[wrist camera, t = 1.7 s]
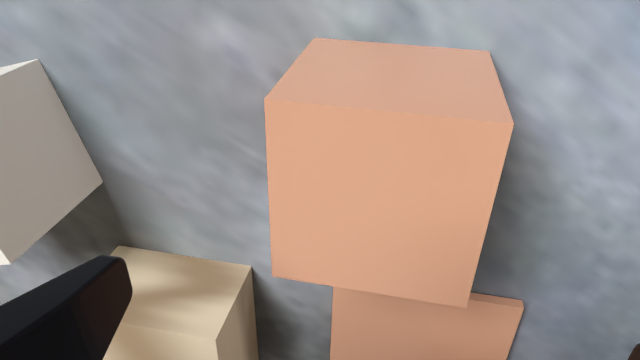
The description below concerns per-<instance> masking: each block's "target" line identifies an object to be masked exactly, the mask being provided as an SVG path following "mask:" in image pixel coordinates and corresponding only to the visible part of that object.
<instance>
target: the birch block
mask: <svg viewBox="0 0 640 360" xmlns="http://www.w3.org/2000/svg"><path fill="white" fill-rule="evenodd" d="M110 255H111V256H117V257H121V258H123V259H124V260H125V262H126V265H127V268H128V272H129V276H130V280H131V284H132V288H133V293H132V298H131V301H130V303H129V306H128V308H127V310H126V312H125V314H124V316H123V318H122V320H121V322H120V324H119V327H118V329H117V331H116V333H115V335H114V337H113V339H112V341H111V343H110V345H109V348H108V350H107V352H106V354H105V356H104V358H103V360H259V358H258V345H257V332H256V319H255V306H254V293H253V280H252V268H251V266H247V265H240V264H234V263H228V262H221V261H215V260H209V259H202V258H196V257H190V256H183V255H177V254H171V253H164V252H158V251H151V250H145V249H139V248H132V247H126V246H120V245H118V247H117V248H116V249H115V250H114V251H113V252H112V253H111V254H110Z"/></svg>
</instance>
